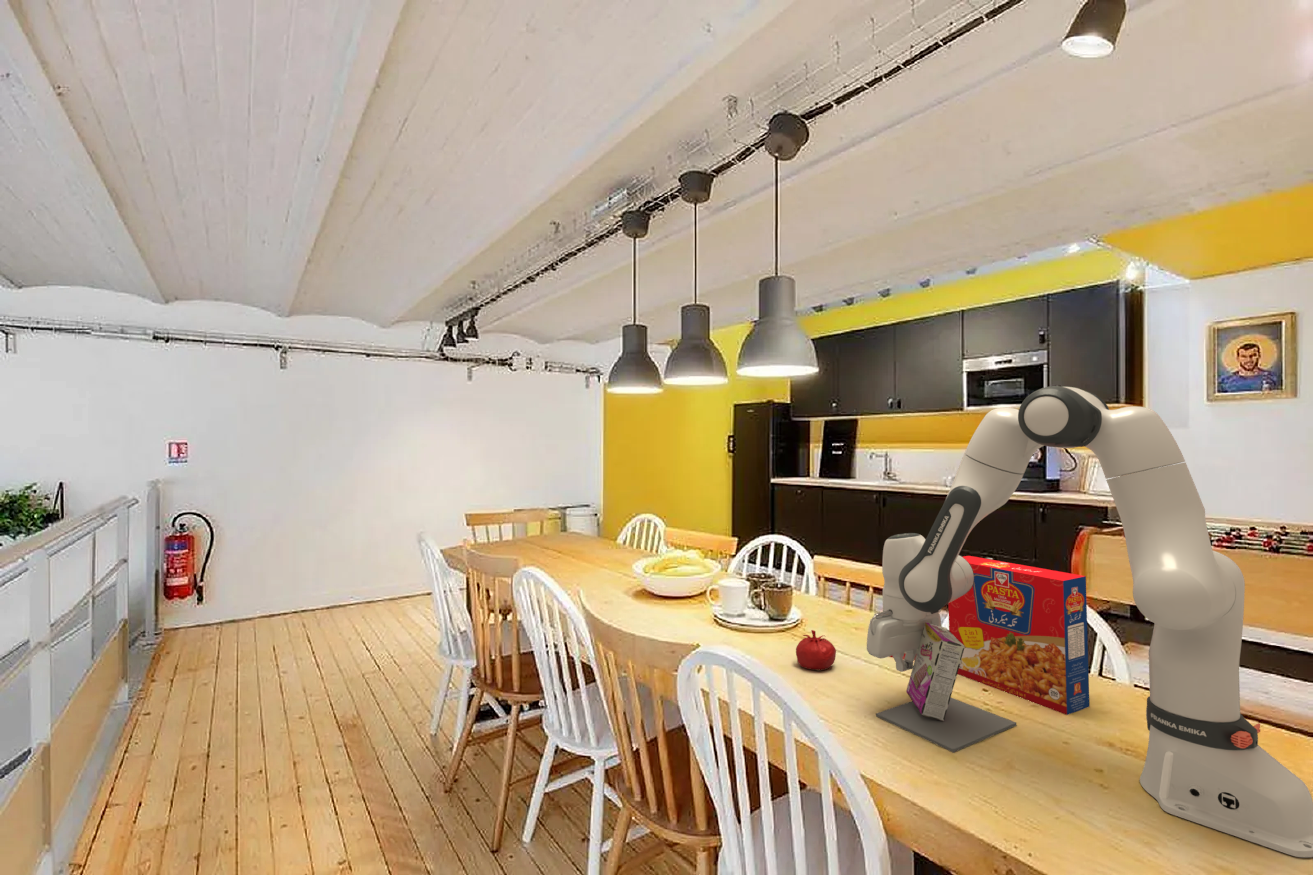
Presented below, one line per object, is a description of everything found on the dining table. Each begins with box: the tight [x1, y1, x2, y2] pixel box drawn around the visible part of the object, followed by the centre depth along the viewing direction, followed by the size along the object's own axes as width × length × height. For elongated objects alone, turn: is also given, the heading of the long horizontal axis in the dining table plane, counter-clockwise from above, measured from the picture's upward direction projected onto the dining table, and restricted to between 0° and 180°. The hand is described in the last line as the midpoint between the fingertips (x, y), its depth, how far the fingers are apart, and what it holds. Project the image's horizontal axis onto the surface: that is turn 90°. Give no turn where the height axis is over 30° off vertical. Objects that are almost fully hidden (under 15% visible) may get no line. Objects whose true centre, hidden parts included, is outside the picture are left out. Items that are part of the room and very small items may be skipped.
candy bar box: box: [905, 622, 965, 721], centre depth 132 cm, size 11×5×16 cm, turn 174°
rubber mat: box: [875, 697, 1017, 754], centre depth 128 cm, size 18×20×1 cm
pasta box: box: [947, 555, 1090, 716], centre depth 144 cm, size 28×8×28 cm, turn 26°
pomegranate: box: [795, 629, 837, 671], centre depth 160 cm, size 10×10×9 cm
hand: (904, 669), depth 137 cm, fingers closed
